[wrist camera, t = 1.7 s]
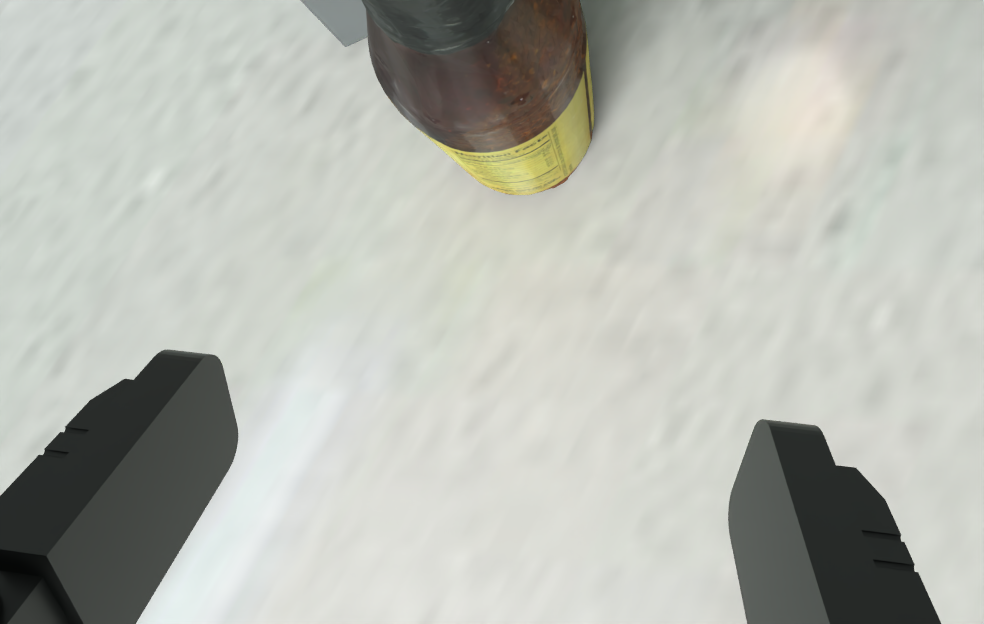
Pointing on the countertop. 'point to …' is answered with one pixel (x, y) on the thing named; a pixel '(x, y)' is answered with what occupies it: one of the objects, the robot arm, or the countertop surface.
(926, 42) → the countertop surface
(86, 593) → the robot arm
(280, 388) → the countertop surface
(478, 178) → the sauce bottle
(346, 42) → the gray tray
